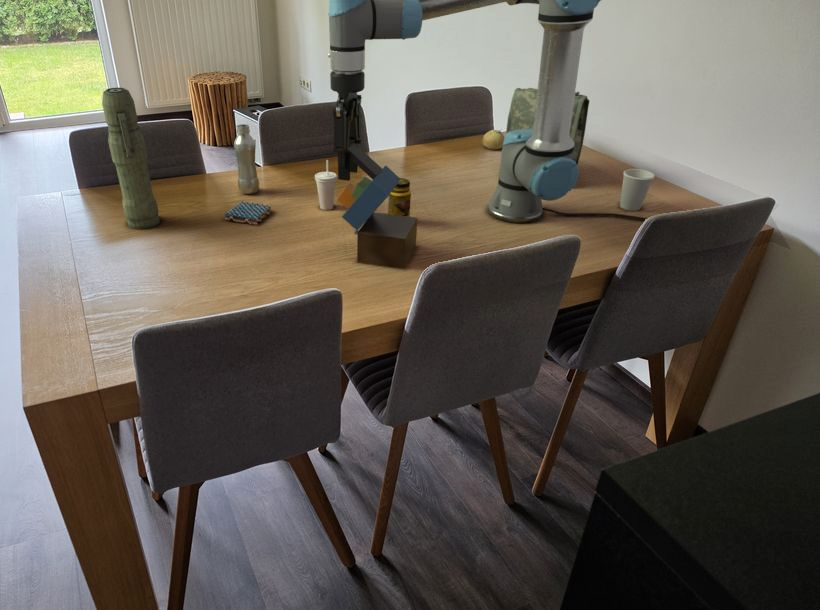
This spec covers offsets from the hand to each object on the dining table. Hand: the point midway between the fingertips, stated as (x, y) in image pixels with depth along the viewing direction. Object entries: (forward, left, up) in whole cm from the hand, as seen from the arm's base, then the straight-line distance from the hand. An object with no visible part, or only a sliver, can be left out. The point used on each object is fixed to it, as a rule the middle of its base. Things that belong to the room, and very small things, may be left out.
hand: (347, 175), depth 146 cm
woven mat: (+34, -11, -19) cm, 40 cm away
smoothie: (+15, -24, -19) cm, 34 cm away
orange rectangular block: (-5, 0, -8) cm, 10 cm away
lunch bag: (-42, -71, -19) cm, 85 cm away
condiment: (-7, -20, -19) cm, 29 cm away
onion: (-24, -96, -19) cm, 101 cm away
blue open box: (-8, 0, -6) cm, 10 cm away
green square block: (-8, 0, -5) cm, 9 cm away
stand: (-10, 0, -19) cm, 22 cm away
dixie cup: (-70, -52, -19) cm, 90 cm away
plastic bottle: (+42, -28, -19) cm, 54 cm away
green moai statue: (+60, +2, -19) cm, 63 cm away
